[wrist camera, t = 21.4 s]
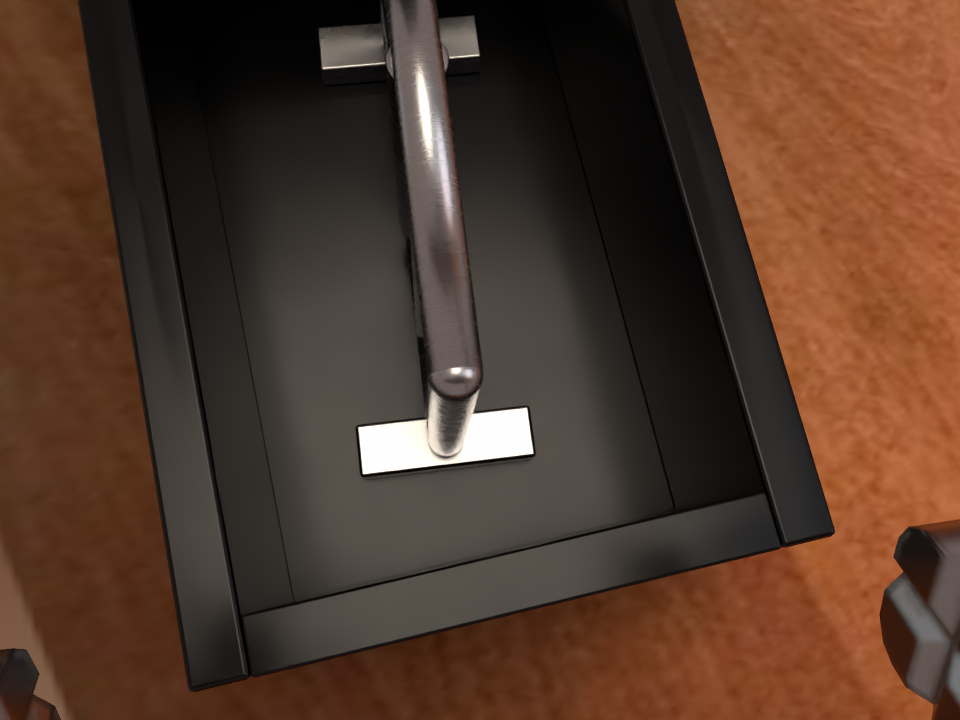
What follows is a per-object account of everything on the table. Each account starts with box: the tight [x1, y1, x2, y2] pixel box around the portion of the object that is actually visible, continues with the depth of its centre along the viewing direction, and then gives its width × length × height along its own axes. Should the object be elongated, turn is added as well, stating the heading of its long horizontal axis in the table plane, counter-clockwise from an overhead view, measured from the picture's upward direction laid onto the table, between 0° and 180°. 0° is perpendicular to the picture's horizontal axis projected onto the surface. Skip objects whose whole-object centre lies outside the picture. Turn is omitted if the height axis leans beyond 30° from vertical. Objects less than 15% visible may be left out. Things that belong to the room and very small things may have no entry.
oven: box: [78, 0, 835, 692], centre depth 20 cm, size 17×11×7 cm, turn 13°
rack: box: [317, 0, 536, 480], centre depth 18 cm, size 11×4×9 cm, turn 7°
